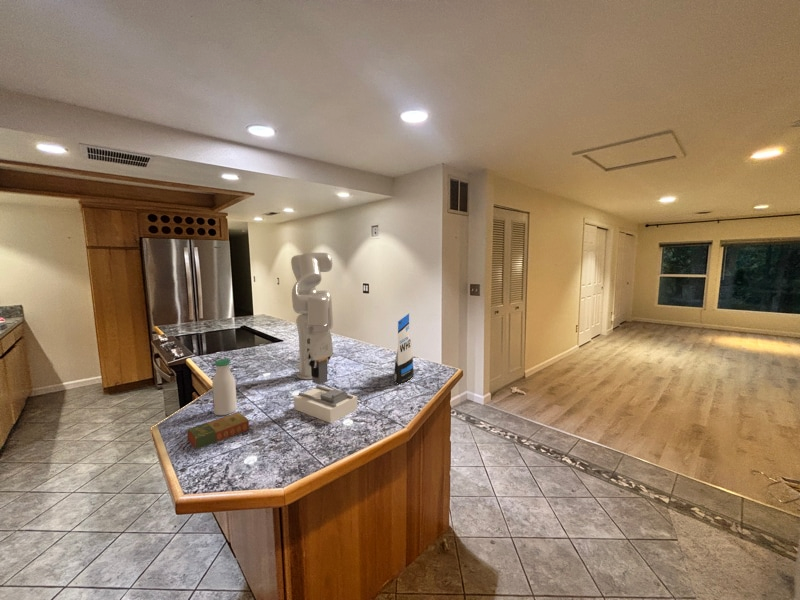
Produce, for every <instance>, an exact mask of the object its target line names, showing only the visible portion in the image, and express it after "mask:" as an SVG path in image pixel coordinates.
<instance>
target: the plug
mask: <svg viewBox="0 0 800 600" xmlns="http://www.w3.org/2000/svg"><path fill="white" fill-rule="evenodd" d="M327 359H328V357H327V358H323V359H320V360H317V367H318V378H315V377H312V379H311V380H312V383H313V384H317V385H321V384H324V383H327V382H328V374H327V369H328V364H327ZM313 363H314V361H313Z"/></svg>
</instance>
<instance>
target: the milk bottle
mask: <svg viewBox="0 0 800 600" xmlns="http://www.w3.org/2000/svg"><path fill="white" fill-rule="evenodd" d="M215 368H216V369H215V370H216V371H215V374H214V377H213V378H212V383H211V384H212V385H211V386H212V387H211V388H212V404H213V413H214V415H216V416H228V415H231V414H234V413H236V411H237V410H238V409H237V408H238V407H237V405H238V404H237V402H238V401H237V390H236V389H237V388H236V379H235V377H234V374H233V373H232V371H231V369H230V360H229V358H221V359H218V360H215Z"/></svg>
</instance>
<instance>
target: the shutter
mask: <svg viewBox="0 0 800 600" xmlns="http://www.w3.org/2000/svg"><path fill="white" fill-rule="evenodd" d="M332 389H333V390H331V391H329V392H326V393H324V394H322V395H321V399H322V400H325V401H328V402H330V403H333V404H336V403H338V402H340V401H343V400H345V399H347V398H348V396H347V393H348V392H347V391H346V390H344V389H342V390H339V389H336V388H332Z"/></svg>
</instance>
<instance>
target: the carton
mask: <svg viewBox="0 0 800 600" xmlns="http://www.w3.org/2000/svg"><path fill="white" fill-rule="evenodd" d="M246 431H250V423H249V419H248V417H246V416H244V415H243V414H242V413H240V412H238V411H237V412H233V413H230V414H227V415H224V416H221V417H220V418H216V419H214V420H211V421H207V422H204V423H202V424H199V425H196V426H193V427H189V428H187V441H188V442H189V443H190V444H191V445H192V446H193V447H194V448H195V449H196V450H199V449H201V448H203V447H206V446H209V445H212V444H214V443H217V442H220V441H222V440H224V439H227V438H230V437H231V438H232V437H233V436H237V435H238V434H241V433H244V432H246Z"/></svg>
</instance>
